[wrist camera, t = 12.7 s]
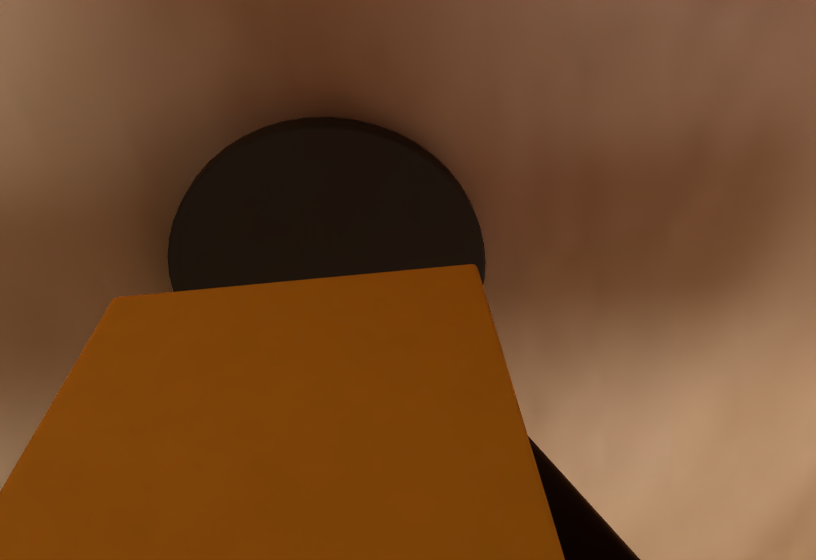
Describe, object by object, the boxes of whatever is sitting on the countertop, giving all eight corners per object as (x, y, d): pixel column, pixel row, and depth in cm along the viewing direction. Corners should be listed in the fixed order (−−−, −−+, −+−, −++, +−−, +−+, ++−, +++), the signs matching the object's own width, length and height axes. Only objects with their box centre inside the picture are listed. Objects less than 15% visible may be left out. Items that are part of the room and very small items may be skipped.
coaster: (480, 101, 11) (484, 110, 11) (483, 367, 14) (486, 382, 14) (133, 132, 11) (123, 142, 11) (213, 393, 14) (209, 409, 14)
